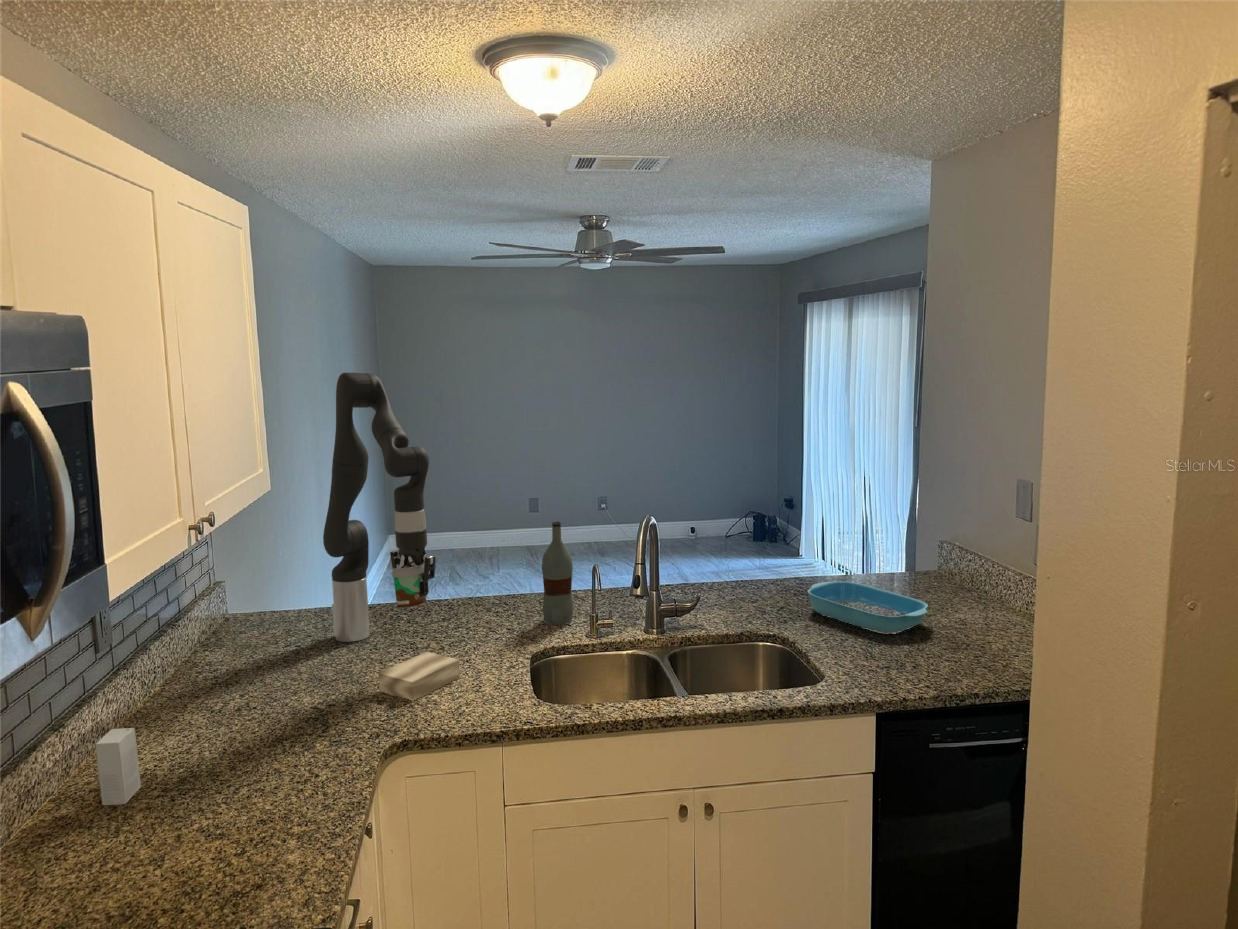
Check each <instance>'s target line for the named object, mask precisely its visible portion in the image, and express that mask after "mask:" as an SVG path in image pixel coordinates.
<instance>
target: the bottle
mask: <svg viewBox="0 0 1238 929" xmlns="http://www.w3.org/2000/svg"><path fill="white" fill-rule="evenodd" d="M551 524H552V526H551V528H552V530H551V531H552V533H551V535H552V536H551V537H552V539H551V542H550V544H549V545H548V547H547V549H546V550H545V552H544V553H543V556H542V562H541V574H542V580H543V598H542V614H543V620H544V623H545V624H546V623H547V624H546V625H549V624H550V625H549V626H554V625H559V626H564V625H563V624H566V623H569V624H571V623H572V620H573V616H574V602H573V596H572V595H573V594H572V586H573V585H572V584H573V570H574V565H573V559H572V555H571V552H570V551H569V549H568V548H567V547H566V545H565V544H564V542H563V541H562V522H560V521H552V523H551ZM566 625H567V624H566Z"/></svg>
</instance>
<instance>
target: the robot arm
mask: <svg viewBox="0 0 1238 929" xmlns="http://www.w3.org/2000/svg"><path fill="white" fill-rule="evenodd" d="M337 378H338V379H337V382H336V387H335V388H336V390H335V434H334V435H335V436H334V446H333V454H332V455H333V456H332V463H331V464H332V465H331V483H330V490H329V491H330V493H329V502H328V508H327V513H326V517H325V522H324V527H323V528H324V529H323V536H322V539H323V542H322V543H323V548H324V550H325V551H326V553H327V555H329V556H330V557H331V558H341V557H342V558H341V560H340V561H339V562H338V564H336V565H335V566H334V567H333V568H332V570H331V583H332V584H331V585H332V600H333V603H332V604H331V615H332V616H331V617H332V630H333V631H332V632H333V633H332V634H333V637H335V640H336V641H338V642H342V643H344V642H345V643H350V642H351V643H352V642H357V641H363V640H365V639H367V638H368V637H369V636H370V618H369V598H368V596H369V595H368V581H367V578H368V577H367V571H368V568H369V562H370V561H369V557H370V556H369V552H370V551H369V550H370V549H369V548H370V545H369V543H370V542H369V540H370V539H369V534H368V530H367V528H366V525H365V524H364V523H363V522H362V521H361V520H359V519H358V520H357V519H351V520H349V519H350V514H351V510H352V508H353V506H354V503H355V502H356V500H357V499H358V497H359V495H360V494H361V492H362V490H363V488H364V486H365V485H366V484H365V483H366V481H367V478H368V470H369V457H370V456H369V452H368V450H367V448H366V446H365V444H364V442H363V440H362V439H361V437H360V436H359V433H358V431H357V430H356V427H355V424H354V417H353V416H354V415H353V411H354V408H355V409H356V408H361V409H362V408H364V409H365V408H366V409H367V408H371V409H373V410H374V411H375V413H374V415H373V419H372V422H371V432H372V436H373V438H374V439H375V441H376V443H377V444H378V446H379V447H380V450H381V453H382V457H383V464H384V469H385V471H386V473H387V474H388V475H389V476H391V477H393V478H403V477H404V478H405V477H410V478H409V480H408V482H406V483H405V484H403V485H401V486H398V487H396V488H395V489H394V490H393V501H394V530H395V531H394V534H395V546H396V548H397V549H395V550H392V551H390V553H389V556H390V562H391V567H392V570H393V568H401V567H402V566H404V565H406V566H409V567H414V566H418V565H421V564H423V563H424V576H422V574H419V581H420V582H419V584H420V596H422V597H423V596H426V597H427V596H428V595H429V591H430V590H429V581H430V580H433V579H435V574H436V556H435V555H434V554H433V555H429V554H427V552H426V549H425V548H426V546H427V545H428V535H427V534H428V532H427V520H426V519H427V518H426V512H425V500H424V491H425V484H426V480H427V475H428V471H429V467H430V458H429V454H428V452H427V451H426V449H425V448H423V447H422V446H409V445H410V440H409V438H408V436H407V433H406V432H405V430H404V429H403V427H402V426H401V424H400V423H399V422H398V420H397V418H396V416H395V413H394V411H393V407H392V404H391V403H390V400H389V398H388V395H387V392H386V390H385V387H384V385H383V383H382V381H381V379H380V378H379V376H377V375H376V374H374V373H369V372H342V373H340V375H339V376H338V377H337ZM397 565H398V566H397Z"/></svg>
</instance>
